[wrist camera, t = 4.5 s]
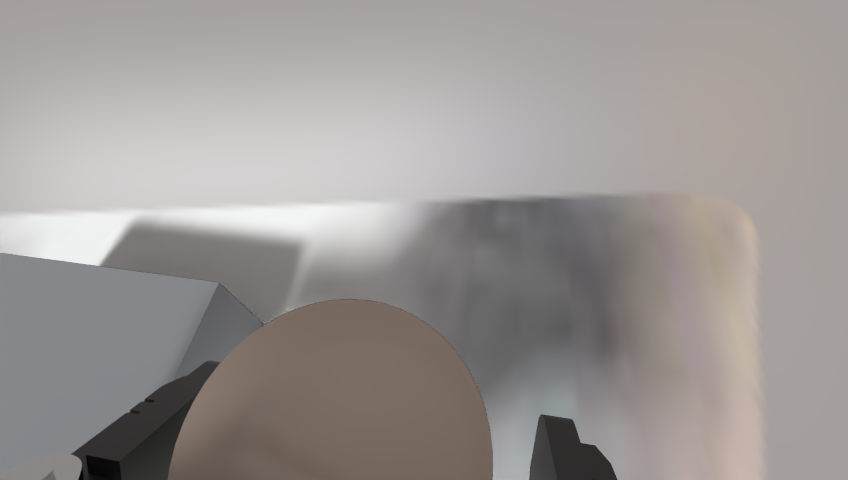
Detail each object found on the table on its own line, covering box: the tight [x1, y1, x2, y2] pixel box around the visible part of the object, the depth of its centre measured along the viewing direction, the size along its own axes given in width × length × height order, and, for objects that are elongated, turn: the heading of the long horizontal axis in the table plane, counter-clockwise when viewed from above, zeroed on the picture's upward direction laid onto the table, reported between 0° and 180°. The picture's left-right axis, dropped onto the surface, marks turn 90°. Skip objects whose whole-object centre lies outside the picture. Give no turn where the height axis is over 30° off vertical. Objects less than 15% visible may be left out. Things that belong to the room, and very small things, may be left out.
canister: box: [168, 299, 493, 480], centre depth 10 cm, size 5×5×9 cm
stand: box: [0, 253, 263, 476], centre depth 14 cm, size 9×9×4 cm
